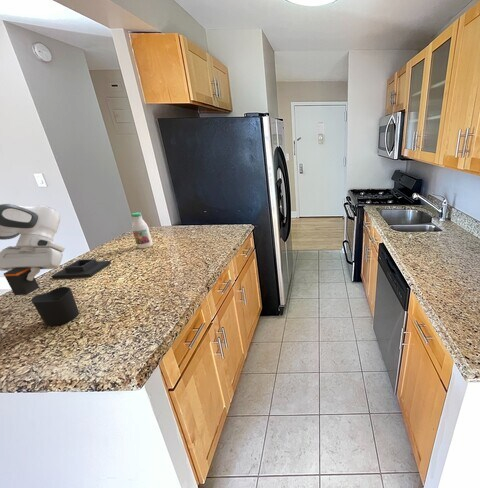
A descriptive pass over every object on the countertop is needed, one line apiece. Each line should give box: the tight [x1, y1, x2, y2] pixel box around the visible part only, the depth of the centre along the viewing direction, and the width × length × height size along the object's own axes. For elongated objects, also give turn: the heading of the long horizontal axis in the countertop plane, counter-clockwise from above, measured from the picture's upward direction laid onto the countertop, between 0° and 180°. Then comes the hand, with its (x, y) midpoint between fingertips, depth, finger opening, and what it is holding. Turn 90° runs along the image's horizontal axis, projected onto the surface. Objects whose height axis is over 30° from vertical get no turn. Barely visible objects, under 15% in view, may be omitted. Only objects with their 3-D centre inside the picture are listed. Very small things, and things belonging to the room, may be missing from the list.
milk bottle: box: [130, 212, 154, 249], centre depth 148 cm, size 8×8×20 cm
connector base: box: [51, 258, 112, 280], centre depth 123 cm, size 16×14×4 cm
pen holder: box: [31, 286, 80, 327], centre depth 89 cm, size 9×9×10 cm
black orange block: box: [3, 267, 40, 296], centre depth 95 cm, size 4×5×9 cm
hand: (20, 280), depth 94 cm, fingers closed on black orange block, 4 cm apart
